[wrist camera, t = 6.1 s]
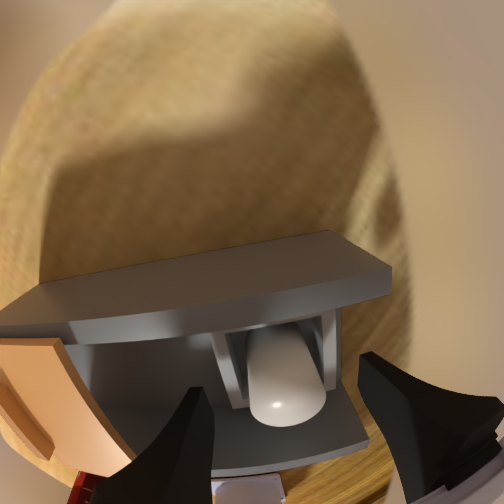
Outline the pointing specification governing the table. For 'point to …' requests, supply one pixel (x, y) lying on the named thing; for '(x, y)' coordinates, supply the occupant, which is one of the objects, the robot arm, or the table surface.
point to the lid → (56, 408)
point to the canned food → (84, 487)
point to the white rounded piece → (282, 376)
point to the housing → (211, 341)
